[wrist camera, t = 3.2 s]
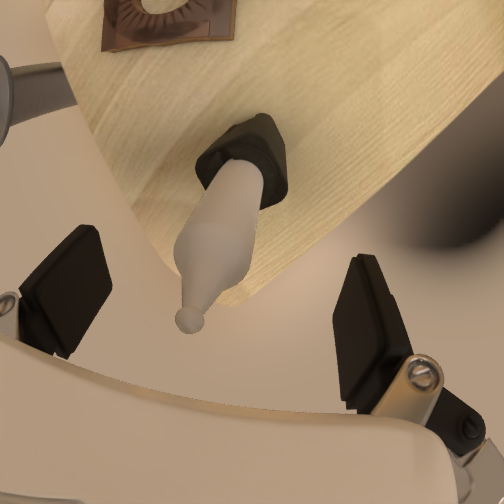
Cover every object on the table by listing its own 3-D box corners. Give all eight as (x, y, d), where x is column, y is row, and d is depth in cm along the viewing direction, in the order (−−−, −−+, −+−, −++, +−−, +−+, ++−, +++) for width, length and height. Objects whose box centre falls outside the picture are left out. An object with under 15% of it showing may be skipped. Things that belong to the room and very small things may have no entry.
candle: (245, 170, 30) (172, 384, 9) (224, 129, 28) (74, 287, 7) (288, 151, 28) (305, 363, 8) (267, 109, 26) (218, 220, 5)
